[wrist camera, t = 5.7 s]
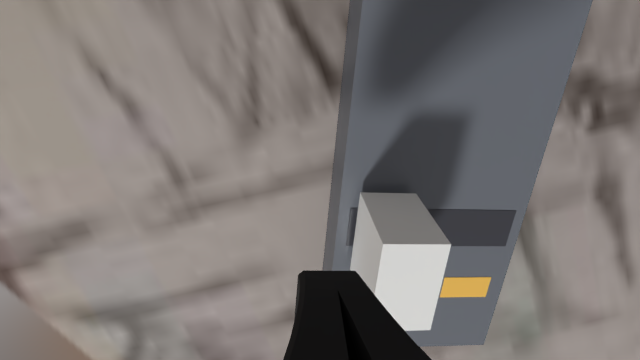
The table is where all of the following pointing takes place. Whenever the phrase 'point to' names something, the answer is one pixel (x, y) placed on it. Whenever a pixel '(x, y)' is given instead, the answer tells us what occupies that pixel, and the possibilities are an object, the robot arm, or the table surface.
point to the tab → (400, 256)
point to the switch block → (451, 132)
